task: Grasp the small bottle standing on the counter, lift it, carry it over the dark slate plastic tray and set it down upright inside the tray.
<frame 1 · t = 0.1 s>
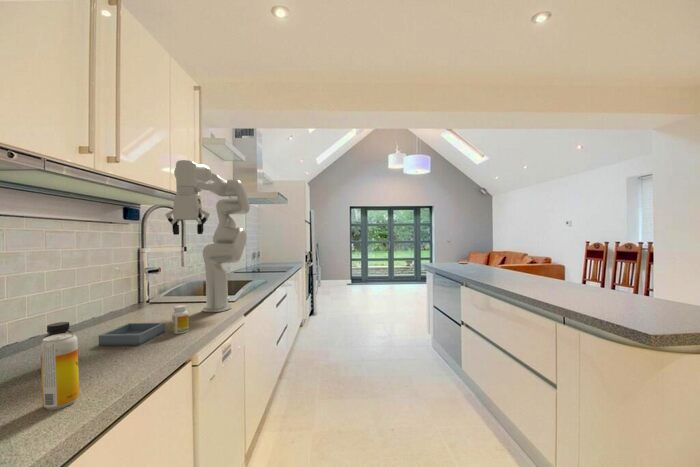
hand: (188, 234, 128), 37 cm above the counter, tool pointing down, fingers open, 9 cm apart
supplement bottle: (59, 366, 92), on the counter
supplement bottle 2: (180, 332, 120), on the counter
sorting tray: (134, 338, 113), on the counter
pill bottle: (61, 404, 71), on the counter
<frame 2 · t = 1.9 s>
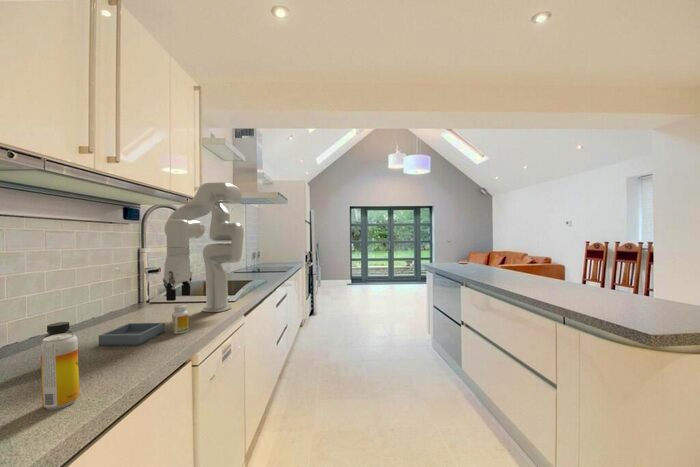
hand: (178, 297, 119), 13 cm above the counter, tool pointing down, fingers open, 9 cm apart
nothing on the counter moved.
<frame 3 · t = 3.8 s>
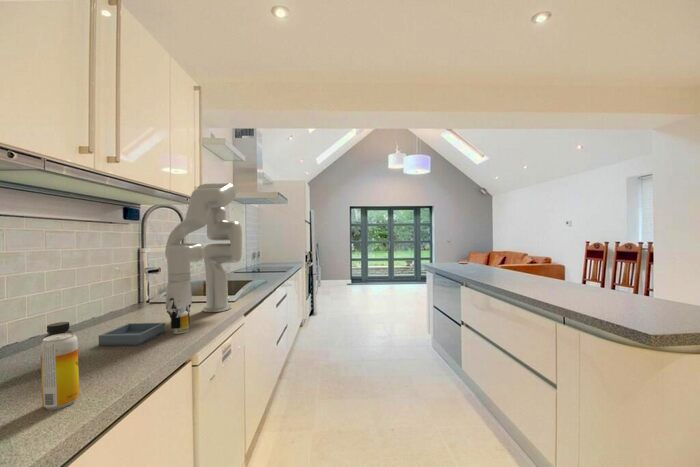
hand: (180, 325, 120), 3 cm above the counter, tool pointing down, fingers closed on supplement bottle 2, 5 cm apart
supplement bottle 2: (180, 332, 120), on the counter, touching gripper
everything else where it was.
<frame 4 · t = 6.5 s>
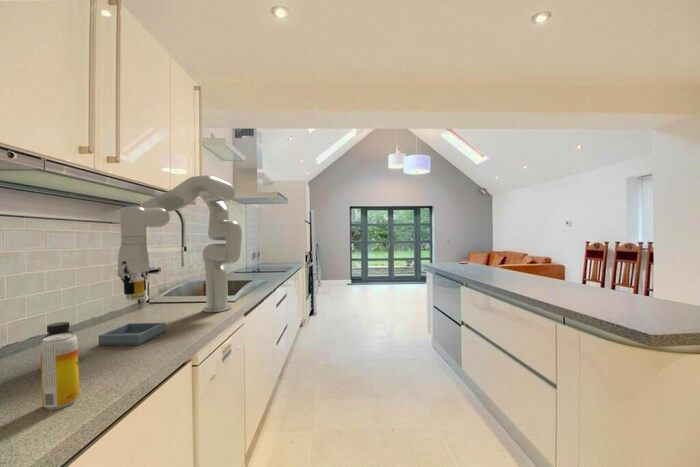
hand: (135, 291, 114), 17 cm above the counter, tool pointing down, fingers closed on supplement bottle 2, 5 cm apart
supplement bottle 2: (135, 299, 114), point 14 cm above the counter, touching gripper
everything else where it was.
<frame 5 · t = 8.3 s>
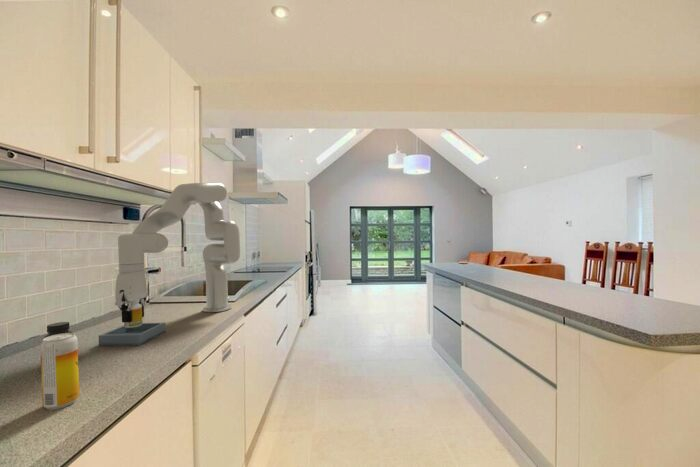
hand: (133, 318, 113), 7 cm above the counter, tool pointing down, fingers closed on supplement bottle 2, 5 cm apart
supplement bottle 2: (133, 326, 113), point 4 cm above the counter, touching gripper
everything else where it was.
when the fingers open (5 cm above the counter, at t = 9.5 s): supplement bottle 2 drops 2 cm, resting on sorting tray.
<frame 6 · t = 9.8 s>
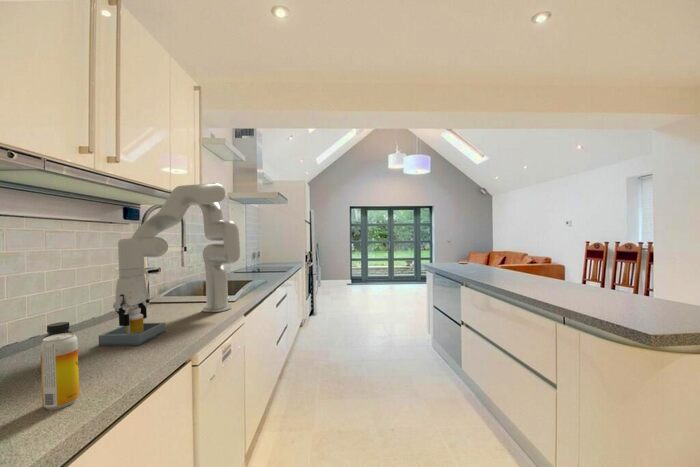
hand: (133, 321, 113), 6 cm above the counter, tool pointing down, fingers open, 8 cm apart
supplement bottle 2: (134, 336, 114), point 1 cm above the counter, touching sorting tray
everything else where it was.
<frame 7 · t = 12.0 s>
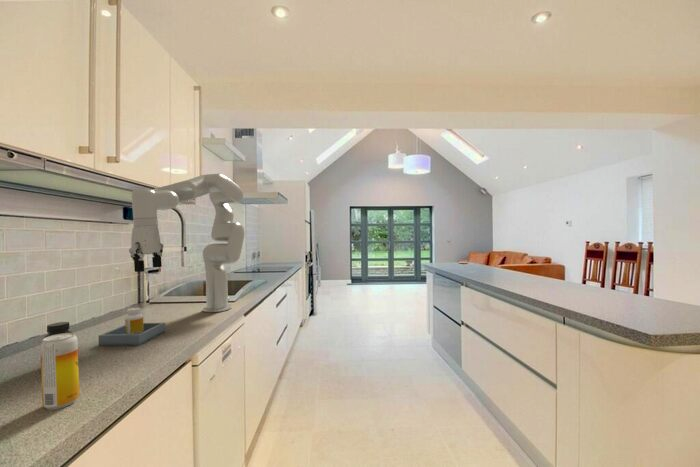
hand: (148, 269, 118), 24 cm above the counter, tool pointing down, fingers open, 9 cm apart
nothing on the counter moved.
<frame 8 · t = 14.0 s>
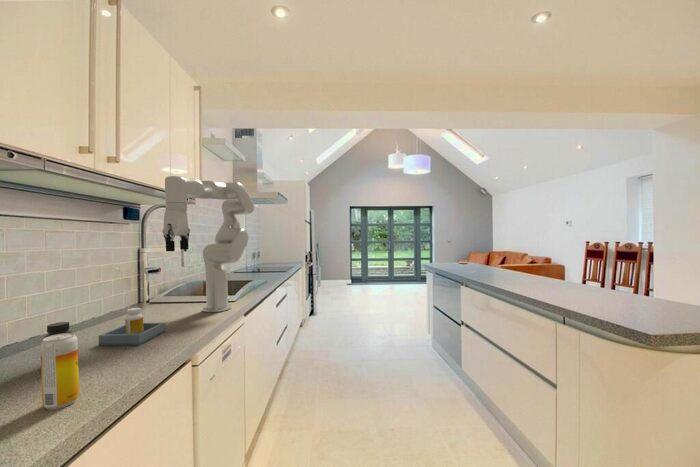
hand: (177, 250, 128), 30 cm above the counter, tool pointing down, fingers open, 9 cm apart
nothing on the counter moved.
at the end: supplement bottle 2 inside the target area on the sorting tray (0.3 cm from its centre), point 0.6 cm above the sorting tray's base; supplement bottle 2 tilted 0°; the gripper is holding nothing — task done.
